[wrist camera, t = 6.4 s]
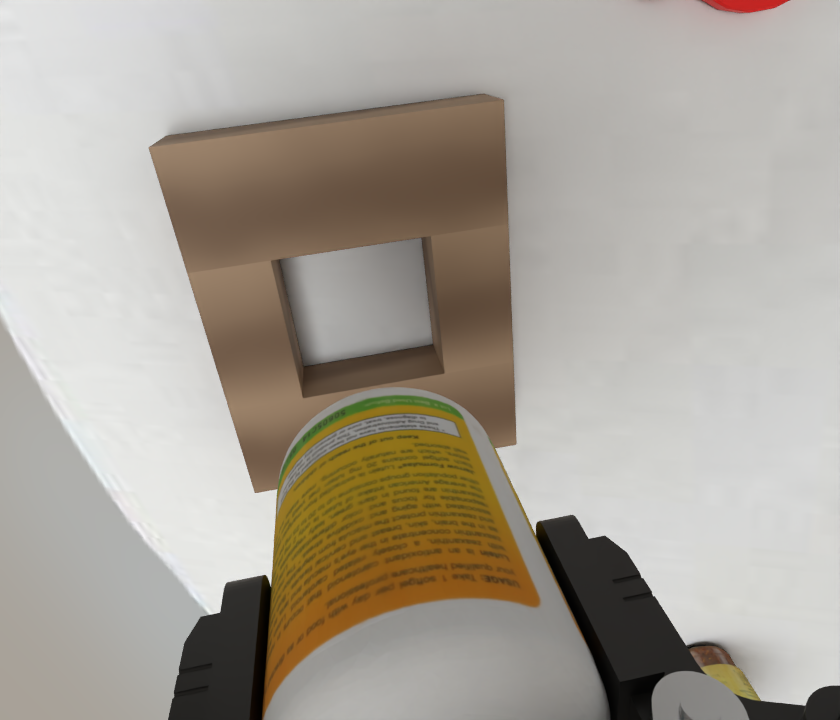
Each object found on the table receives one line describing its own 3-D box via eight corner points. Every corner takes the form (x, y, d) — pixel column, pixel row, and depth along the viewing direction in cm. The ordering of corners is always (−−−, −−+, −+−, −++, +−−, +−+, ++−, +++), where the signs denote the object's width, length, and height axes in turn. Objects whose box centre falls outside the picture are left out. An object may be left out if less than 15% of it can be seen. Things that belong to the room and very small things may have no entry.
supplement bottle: (230, 484, 15) (118, 1095, 6) (391, 335, 14) (534, 820, 5) (385, 585, 17) (463, 1130, 8) (533, 465, 16) (797, 948, 7)
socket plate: (165, 135, 24) (148, 147, 22) (483, 93, 25) (503, 100, 23) (259, 455, 32) (255, 493, 29) (500, 412, 33) (516, 444, 30)
